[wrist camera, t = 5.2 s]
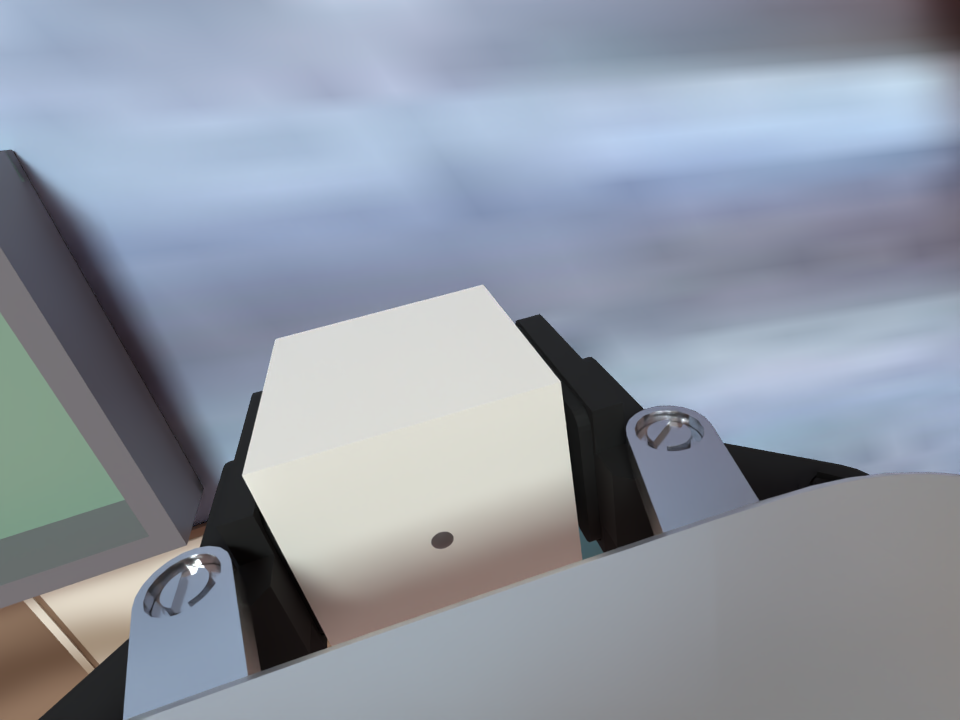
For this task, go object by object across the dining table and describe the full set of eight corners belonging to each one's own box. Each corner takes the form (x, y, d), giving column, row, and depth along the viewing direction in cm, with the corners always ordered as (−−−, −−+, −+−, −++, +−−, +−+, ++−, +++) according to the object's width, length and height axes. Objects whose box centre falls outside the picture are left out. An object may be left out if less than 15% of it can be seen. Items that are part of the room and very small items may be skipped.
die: (275, 339, 11) (241, 477, 7) (496, 281, 11) (581, 377, 7) (345, 507, 13) (349, 683, 9) (525, 451, 14) (602, 594, 10)
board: (-236, 669, 18) (-244, 677, 17) (614, 385, 23) (617, 388, 23) (-45, 810, 22) (-49, 817, 22) (627, 545, 28) (629, 549, 27)
